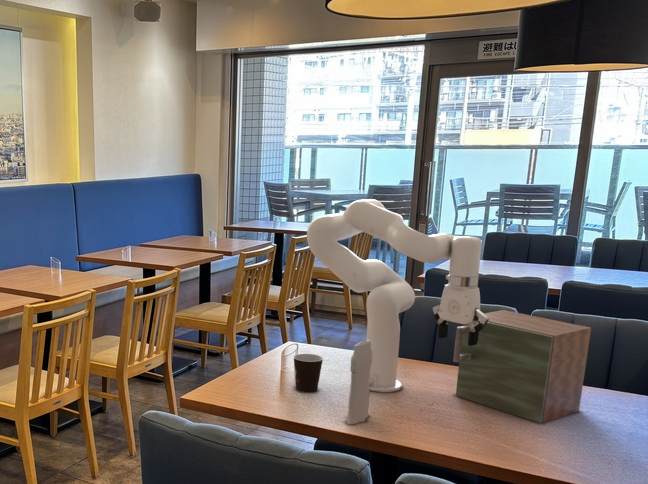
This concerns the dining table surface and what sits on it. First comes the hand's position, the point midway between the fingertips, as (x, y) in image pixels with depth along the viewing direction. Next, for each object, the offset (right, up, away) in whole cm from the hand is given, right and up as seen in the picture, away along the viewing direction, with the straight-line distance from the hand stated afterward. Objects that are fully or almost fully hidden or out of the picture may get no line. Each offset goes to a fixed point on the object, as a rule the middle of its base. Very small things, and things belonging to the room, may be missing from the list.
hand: (457, 341), depth 203 cm
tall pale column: (-31, -21, -8) cm, 38 cm away
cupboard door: (+8, -19, -2) cm, 21 cm away
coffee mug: (-38, -15, +18) cm, 45 cm away
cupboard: (+19, -18, +4) cm, 26 cm away
